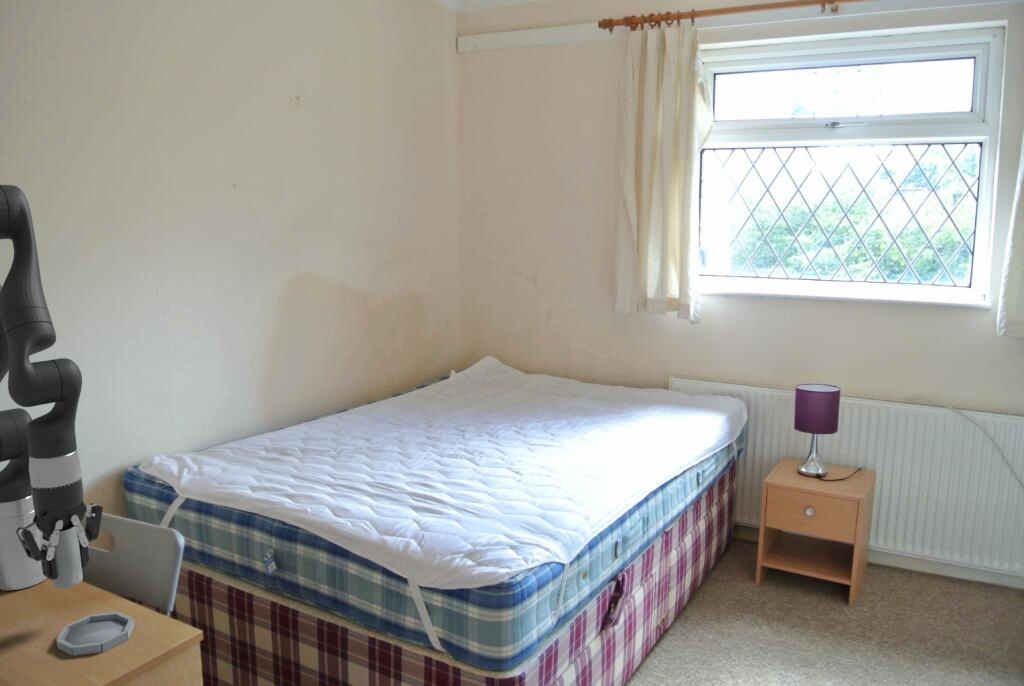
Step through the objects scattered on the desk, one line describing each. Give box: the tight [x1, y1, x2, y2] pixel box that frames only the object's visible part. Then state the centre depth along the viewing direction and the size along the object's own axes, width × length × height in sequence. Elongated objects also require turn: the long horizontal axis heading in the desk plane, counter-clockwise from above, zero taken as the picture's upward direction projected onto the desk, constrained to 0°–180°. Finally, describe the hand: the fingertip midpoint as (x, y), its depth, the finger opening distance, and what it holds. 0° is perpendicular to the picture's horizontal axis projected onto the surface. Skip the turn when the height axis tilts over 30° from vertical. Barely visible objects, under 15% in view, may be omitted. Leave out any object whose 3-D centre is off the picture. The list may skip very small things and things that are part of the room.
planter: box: [47, 525, 84, 589], centre depth 141 cm, size 4×4×10 cm
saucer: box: [55, 611, 135, 657], centre depth 138 cm, size 11×11×1 cm
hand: (66, 572), depth 142 cm, fingers closed on planter, 4 cm apart
